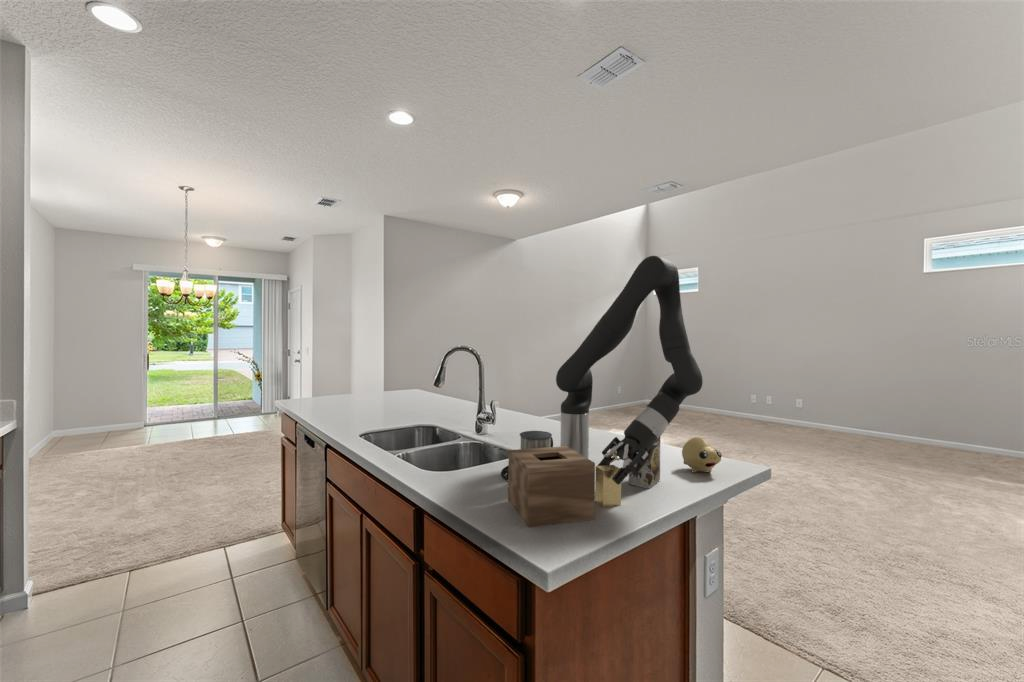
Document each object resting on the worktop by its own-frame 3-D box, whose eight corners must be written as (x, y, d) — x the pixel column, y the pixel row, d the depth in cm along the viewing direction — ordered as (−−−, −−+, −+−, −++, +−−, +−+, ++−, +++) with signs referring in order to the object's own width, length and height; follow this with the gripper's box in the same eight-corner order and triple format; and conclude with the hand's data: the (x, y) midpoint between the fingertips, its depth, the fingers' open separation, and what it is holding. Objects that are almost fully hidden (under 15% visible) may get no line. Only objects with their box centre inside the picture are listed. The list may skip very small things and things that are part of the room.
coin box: (508, 501, 111) (508, 450, 111) (566, 495, 115) (566, 446, 115) (528, 527, 95) (529, 468, 95) (594, 519, 100) (594, 463, 100)
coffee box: (650, 489, 120) (650, 431, 120) (627, 484, 124) (628, 428, 124) (661, 481, 127) (661, 426, 127) (639, 476, 131) (640, 423, 131)
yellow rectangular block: (595, 501, 111) (595, 466, 111) (612, 499, 113) (613, 464, 113) (603, 507, 107) (603, 470, 107) (620, 505, 109) (621, 469, 109)
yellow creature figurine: (698, 479, 129) (698, 443, 129) (676, 467, 141) (676, 434, 141) (727, 477, 131) (728, 442, 131) (703, 465, 143) (703, 433, 143)
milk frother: (549, 493, 116) (550, 438, 116) (492, 489, 120) (493, 435, 119) (555, 477, 130) (555, 427, 130) (504, 473, 133) (504, 425, 133)
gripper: (622, 414, 119) (584, 459, 116) (654, 424, 105) (611, 475, 102) (639, 432, 121) (601, 477, 117) (672, 444, 107) (631, 495, 104)
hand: (606, 476), depth 110 cm, fingers open, 8 cm apart
